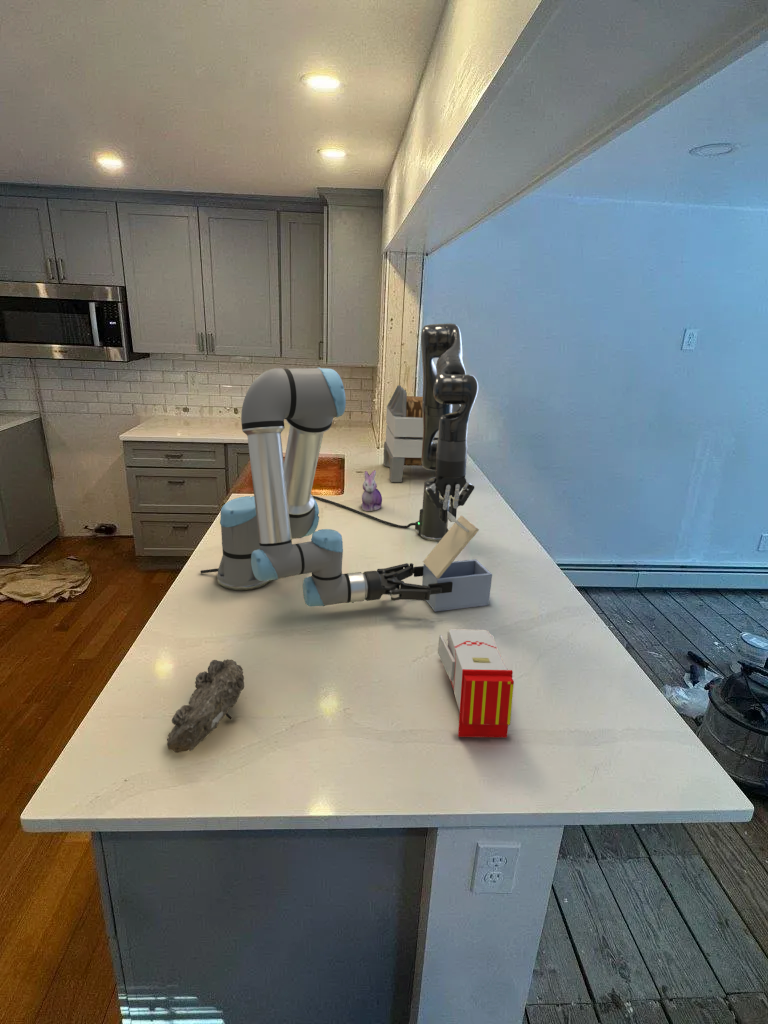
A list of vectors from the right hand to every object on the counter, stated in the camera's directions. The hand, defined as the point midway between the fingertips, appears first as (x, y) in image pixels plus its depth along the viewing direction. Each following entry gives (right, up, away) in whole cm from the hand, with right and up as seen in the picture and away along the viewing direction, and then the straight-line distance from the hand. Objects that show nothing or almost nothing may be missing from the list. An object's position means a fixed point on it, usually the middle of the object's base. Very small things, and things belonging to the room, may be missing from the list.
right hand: (447, 521), depth 147 cm
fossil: (-49, -37, -39) cm, 73 cm away
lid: (+1, -7, +3) cm, 8 cm away
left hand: (0, -15, +6) cm, 16 cm away
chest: (+3, -22, +9) cm, 24 cm away
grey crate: (+1, +21, +128) cm, 130 cm away
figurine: (-22, +4, +77) cm, 81 cm away
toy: (+1, -35, -28) cm, 45 cm away
